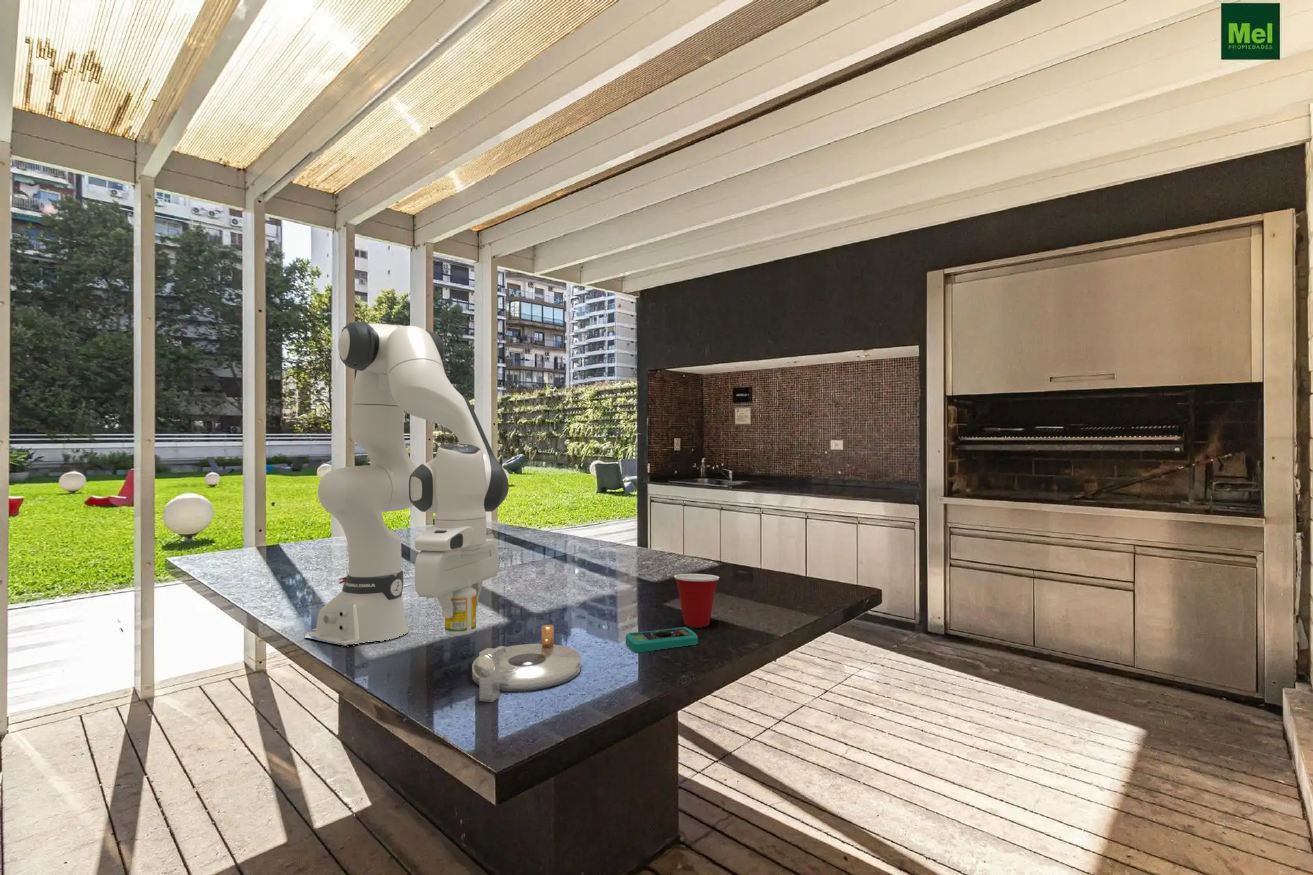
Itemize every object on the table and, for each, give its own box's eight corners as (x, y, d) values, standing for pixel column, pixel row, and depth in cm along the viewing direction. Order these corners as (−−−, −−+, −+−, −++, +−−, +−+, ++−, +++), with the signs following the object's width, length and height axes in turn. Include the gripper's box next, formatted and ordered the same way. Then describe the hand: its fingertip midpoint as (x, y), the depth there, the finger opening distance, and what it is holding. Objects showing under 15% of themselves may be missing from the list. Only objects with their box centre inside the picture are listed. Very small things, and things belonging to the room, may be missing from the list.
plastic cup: (726, 622, 149) (725, 572, 149) (711, 634, 139) (710, 580, 139) (684, 617, 153) (684, 569, 154) (667, 628, 143) (666, 577, 144)
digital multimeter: (701, 647, 130) (700, 633, 130) (634, 655, 126) (633, 641, 126) (688, 638, 137) (688, 625, 137) (624, 645, 133) (624, 631, 133)
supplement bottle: (455, 638, 105) (455, 582, 105) (438, 632, 109) (438, 578, 109) (482, 631, 109) (482, 577, 110) (465, 625, 113) (465, 573, 113)
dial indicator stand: (473, 702, 102) (473, 653, 102) (493, 688, 108) (493, 642, 108) (492, 704, 101) (492, 655, 101) (512, 690, 106) (511, 644, 107)
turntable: (449, 684, 109) (449, 650, 109) (507, 650, 128) (507, 621, 128) (551, 696, 103) (551, 660, 103) (596, 658, 122) (596, 627, 122)
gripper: (478, 527, 120) (478, 597, 120) (407, 541, 101) (407, 626, 100) (506, 527, 118) (507, 599, 118) (440, 542, 99) (440, 628, 98)
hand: (460, 612), depth 109 cm, fingers closed on supplement bottle, 5 cm apart
